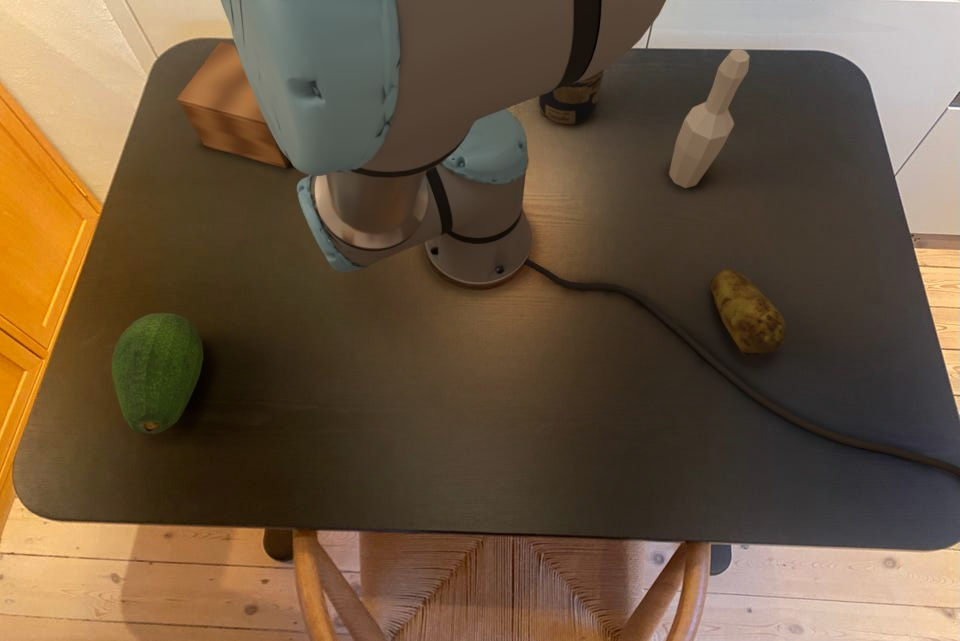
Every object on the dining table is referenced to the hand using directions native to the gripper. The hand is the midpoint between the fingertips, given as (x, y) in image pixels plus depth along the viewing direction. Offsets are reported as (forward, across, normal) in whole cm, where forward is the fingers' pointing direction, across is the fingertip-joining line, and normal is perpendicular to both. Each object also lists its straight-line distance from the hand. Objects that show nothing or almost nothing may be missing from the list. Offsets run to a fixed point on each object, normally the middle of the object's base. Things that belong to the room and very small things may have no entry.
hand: (312, 103), depth 88 cm
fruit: (+9, +43, -1) cm, 44 cm away
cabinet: (+9, 0, -11) cm, 14 cm away
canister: (+9, -20, +34) cm, 40 cm away
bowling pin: (+9, -12, +55) cm, 57 cm away
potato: (+9, +11, +66) cm, 67 cm away
